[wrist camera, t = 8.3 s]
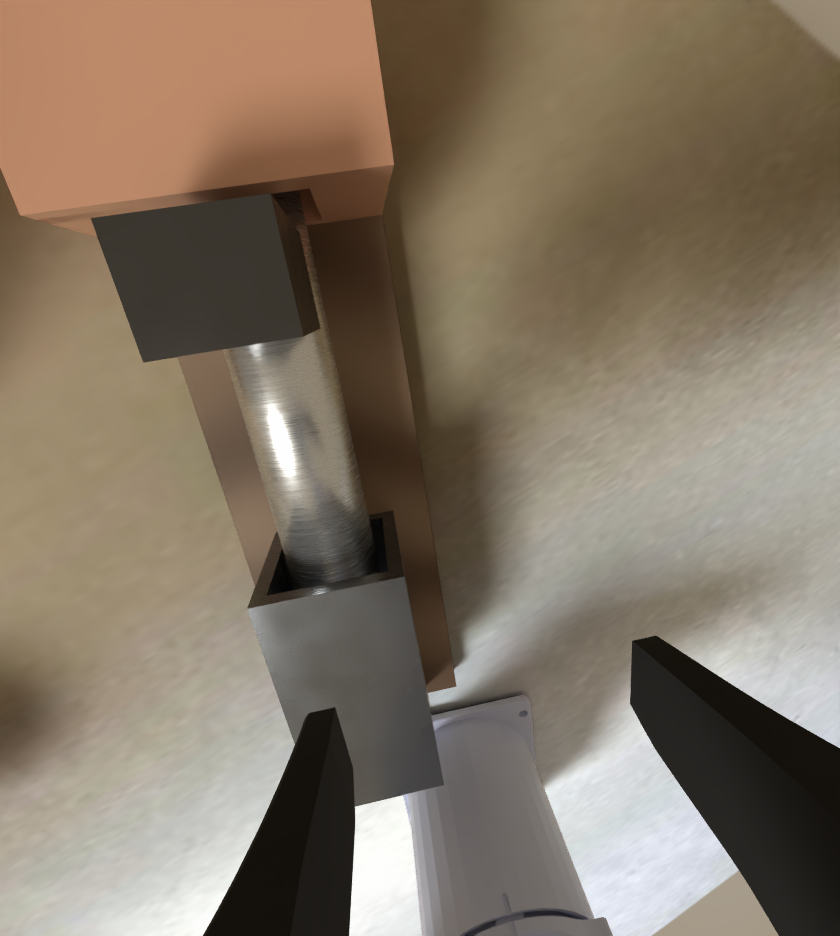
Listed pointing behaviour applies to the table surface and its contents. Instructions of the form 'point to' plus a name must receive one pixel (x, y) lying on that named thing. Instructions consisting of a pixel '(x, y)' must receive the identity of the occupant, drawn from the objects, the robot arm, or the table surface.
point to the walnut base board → (369, 416)
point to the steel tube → (255, 356)
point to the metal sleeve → (353, 665)
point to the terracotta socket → (191, 106)
